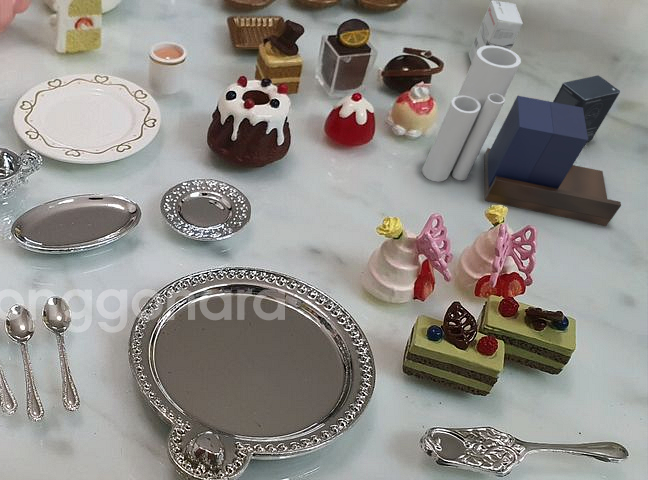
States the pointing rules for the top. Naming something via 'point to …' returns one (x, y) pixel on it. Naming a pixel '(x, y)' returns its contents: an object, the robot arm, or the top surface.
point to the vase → (471, 114)
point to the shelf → (557, 195)
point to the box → (589, 99)
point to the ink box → (498, 27)
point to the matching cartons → (538, 142)
